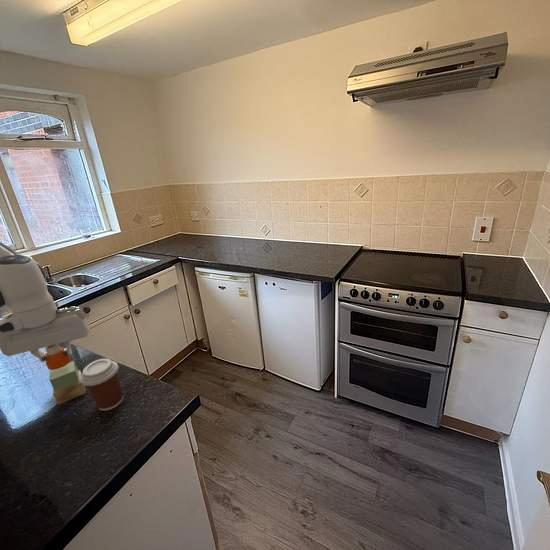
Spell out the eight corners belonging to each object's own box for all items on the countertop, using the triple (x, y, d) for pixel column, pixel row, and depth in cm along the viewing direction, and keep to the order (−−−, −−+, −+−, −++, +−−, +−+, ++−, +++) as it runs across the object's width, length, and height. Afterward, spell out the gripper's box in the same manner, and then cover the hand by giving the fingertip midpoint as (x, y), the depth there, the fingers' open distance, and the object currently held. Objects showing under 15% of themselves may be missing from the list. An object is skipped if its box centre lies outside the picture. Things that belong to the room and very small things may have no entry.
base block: (58, 404, 84) (52, 393, 83) (58, 391, 89) (53, 380, 88) (86, 392, 88) (81, 382, 86) (84, 380, 93) (80, 370, 92)
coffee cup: (121, 411, 79) (107, 375, 75) (86, 416, 79) (70, 380, 74) (133, 387, 87) (121, 353, 83) (102, 392, 87) (88, 358, 83)
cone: (45, 372, 82) (34, 350, 79) (51, 360, 87) (42, 339, 84) (68, 366, 83) (58, 344, 81) (73, 355, 88) (64, 334, 86)
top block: (54, 392, 83) (49, 380, 82) (55, 380, 88) (49, 369, 86) (79, 381, 86) (74, 370, 85) (78, 371, 91) (73, 360, 89)
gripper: (83, 300, 85) (99, 341, 90) (-3, 319, 79) (19, 361, 84) (78, 309, 79) (95, 352, 84) (-15, 330, 73) (9, 375, 78)
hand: (56, 357), depth 84 cm, fingers closed on cone, 4 cm apart
